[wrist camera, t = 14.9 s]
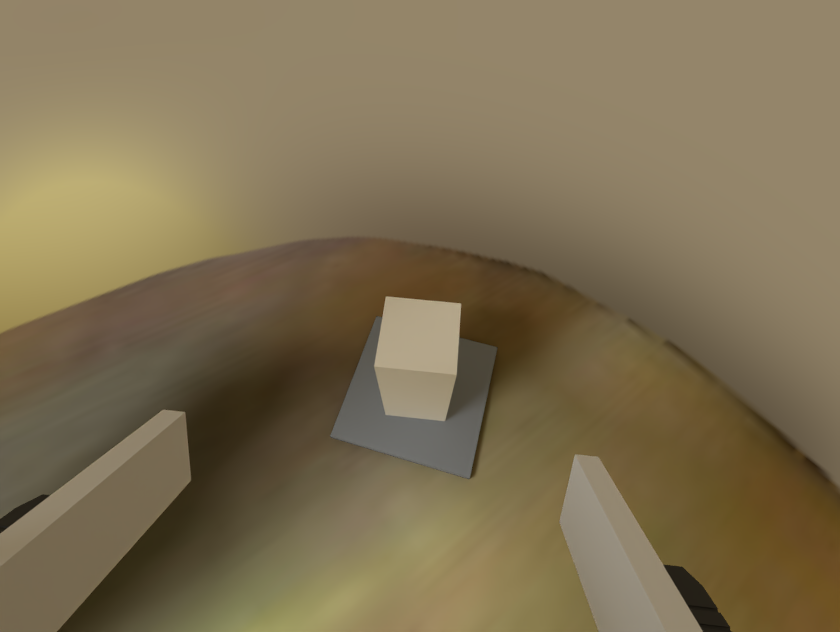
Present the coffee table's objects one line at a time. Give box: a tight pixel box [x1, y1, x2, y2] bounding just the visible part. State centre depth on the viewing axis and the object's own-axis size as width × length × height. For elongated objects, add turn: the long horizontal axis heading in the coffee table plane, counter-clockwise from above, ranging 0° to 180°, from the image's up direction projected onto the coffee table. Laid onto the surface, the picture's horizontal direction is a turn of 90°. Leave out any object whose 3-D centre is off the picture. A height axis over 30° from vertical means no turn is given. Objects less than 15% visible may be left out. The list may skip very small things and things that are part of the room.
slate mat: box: [330, 316, 497, 479], centre depth 42 cm, size 14×14×1 cm
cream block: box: [374, 296, 461, 421], centre depth 36 cm, size 6×6×13 cm
